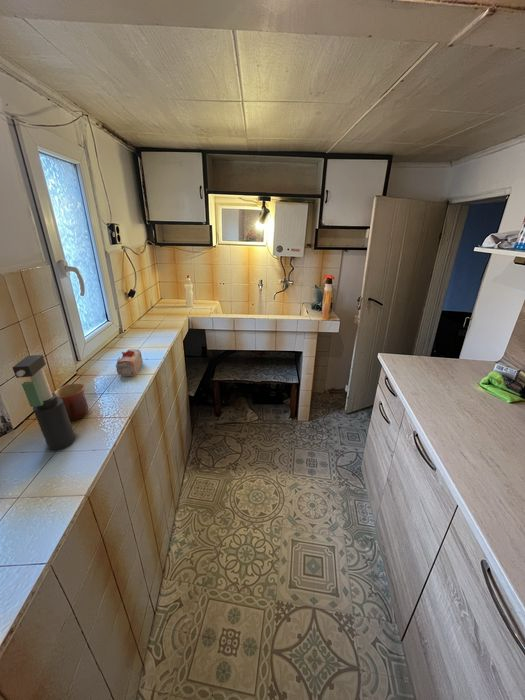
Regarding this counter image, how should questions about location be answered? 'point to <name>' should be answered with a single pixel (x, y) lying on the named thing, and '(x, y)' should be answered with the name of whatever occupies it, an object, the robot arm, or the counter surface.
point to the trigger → (32, 393)
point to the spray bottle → (47, 405)
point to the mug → (73, 400)
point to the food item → (129, 363)
